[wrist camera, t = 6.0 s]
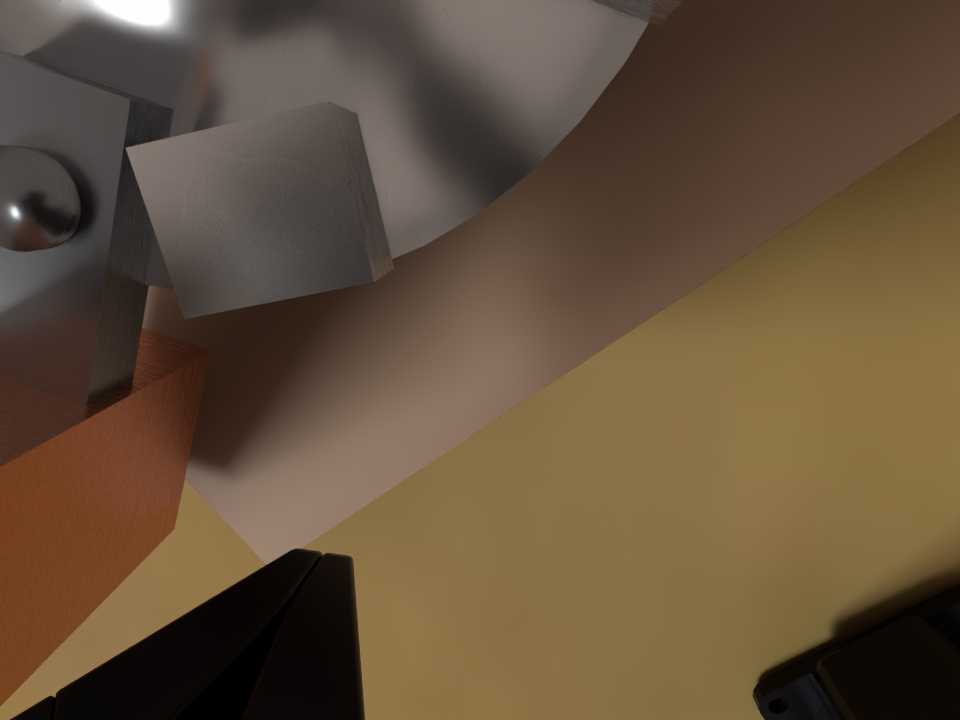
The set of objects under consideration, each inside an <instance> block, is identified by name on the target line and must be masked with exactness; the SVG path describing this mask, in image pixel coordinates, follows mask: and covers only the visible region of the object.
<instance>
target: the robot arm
mask: <svg viewBox="0 0 960 720" xmlns="http://www.w3.org/2000/svg"><path fill="white" fill-rule="evenodd" d="M753 698H754V700H755V703H756V705H757V707H758V709H759V711H760V713H761V715H762V716H763V718H764V719H765V720H960V585H959V586H957V587H954V588H952V589H950V590H948V591H946V592H944V593H942V594H940V595H938V596H936V597H934V598H932V599H930V600H928V601H926V602H924V603H922V604H920V605H917V606H915V607H913V608H911V609H909V610H907V611H905V612H903V613H901V614H899V615H897V616H895V617H893V618H891V619H889V620H887V621H885V622H882V623H880V624H878V625H876V626H874V627H872V628H870V629H868V630H866V631H864V632H862V633H860V634H858V635H856V636H854V637H852V638H850V639H848V640H845V641H843V642H841V643H839V644H837V645H835V646H833V647H831V648H829V649H827V650H825V651H823V652H821V653H819V654H817V655H815V656H813V657H810V658H808V659H806V660H804V661H802V662H800V663H798V664H796V665H794V666H792V667H790V668H788V669H786V670H784V671H782V672H780V673H778V674H776V675H773V676H771V677H769V678H767V679H765V680H763V681H762V682H760V683H759V684H757V685H756V687H755V688H754V690H753ZM777 698H778V699H777ZM773 699H777V700H773ZM772 700H773V701H772ZM10 720H365V713H364V700H363V686H362V673H361V660H360V646H359V633H358V620H357V607H356V593H355V580H354V567H353V559H352V557H350V556H347V555H340V554H333V553H326V554H324V555H322V553H321V552H319V551H313V550H307V549H300V548H295V549H292V550H290V551H289V552H287V553H285V554H284V555H282V556H280V557H279V558H277V559H275V560H274V561H272V562H270V563H269V564H267V565H265V566H264V567H262V568H260V569H259V570H257V571H255V572H254V573H252V574H250V575H249V576H247V577H246V578H244V579H242V580H241V581H239V582H237V583H236V584H234V585H232V586H231V587H229V588H227V589H226V590H224V591H222V592H221V593H219V594H217V595H216V596H214V597H212V598H211V599H209V600H208V601H206V602H204V603H203V604H201V605H199V606H198V607H196V608H194V609H193V610H191V611H189V612H188V613H186V614H184V615H183V616H181V617H179V618H178V619H176V620H174V621H173V622H171V623H169V624H168V625H166V626H165V627H163V628H161V629H160V630H158V631H156V632H155V633H153V634H151V635H150V636H148V637H146V638H145V639H143V640H141V641H140V642H138V643H136V644H135V645H133V646H131V647H130V648H128V649H127V650H125V651H123V652H122V653H120V654H118V655H117V656H115V657H113V658H112V659H110V660H108V661H107V662H105V663H103V664H102V665H100V666H98V667H97V668H95V669H93V670H92V671H90V672H88V673H87V674H85V675H84V676H82V677H80V678H79V679H77V680H75V681H74V682H72V683H70V684H69V685H67V686H65V687H64V688H62V689H60V690H59V691H58V692H57V693H56V697H53V696H48V697H47V698H45V699H43V700H42V701H40V702H38V703H37V704H35V705H33V706H32V707H30V708H29V709H27V710H25V711H24V712H22V713H20V714H19V715H17V716H15V717H14V718H12V719H10Z"/></svg>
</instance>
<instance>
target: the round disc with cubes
mask: <svg viewBox="0 0 960 720" xmlns="http://www.w3.org/2000/svg"><path fill="white" fill-rule="evenodd" d="M681 1H682V0H0V706H1V705H2V704H3V703H4V702H5V701H6V700H7V699H8V698H9V697H10V696H11V695H12V694H13V693H14V692H15V691H16V690H17V689H18V688H19V687H20V686H21V685H22V684H23V683H24V682H25V681H26V680H27V679H28V678H29V677H30V676H31V675H32V674H33V673H34V672H35V670H36V669H37V668H38V667H39V666H40V665H41V664H42V663H43V662H44V661H45V660H46V659H47V658H48V657H49V656H50V655H51V654H52V653H53V652H54V651H55V650H56V649H57V648H58V647H59V646H60V645H61V644H62V643H63V642H64V641H65V640H66V639H67V638H68V637H69V636H70V635H71V634H72V633H73V632H74V631H75V630H76V629H77V628H78V627H79V626H80V625H81V624H82V623H83V622H84V621H85V620H86V618H87V617H88V616H89V615H90V614H91V613H92V612H93V611H94V610H95V609H96V608H97V607H98V606H99V605H100V604H101V603H102V602H103V601H104V600H105V599H106V598H107V597H108V596H109V595H110V594H111V593H112V592H113V591H114V590H115V589H116V588H117V587H118V586H119V585H120V584H121V583H122V582H123V581H124V580H125V579H126V578H127V577H128V576H129V575H130V574H131V573H132V572H133V571H134V570H135V569H136V568H137V566H138V565H139V564H140V563H141V562H142V561H143V560H144V559H145V558H146V557H147V556H148V555H149V554H150V553H151V552H152V551H153V550H154V549H155V548H156V547H157V546H158V545H159V544H160V543H161V542H162V541H163V540H164V539H165V538H166V537H167V536H168V535H169V534H170V533H171V532H172V531H173V530H174V528H175V523H176V519H177V514H178V509H179V504H180V499H181V494H182V489H183V485H184V480H185V475H186V470H187V465H188V460H189V456H190V451H191V446H192V441H193V436H194V431H195V426H196V422H197V417H198V412H199V407H200V402H201V397H202V392H203V388H204V383H205V378H206V373H207V368H208V363H209V359H210V354H211V350H208V349H205V348H202V347H199V346H196V345H193V344H190V343H187V342H184V341H181V340H178V339H175V338H172V337H169V336H166V335H163V334H160V333H157V332H154V331H151V330H148V329H145V328H142V325H143V319H144V313H145V307H146V301H147V295H148V289H149V285H150V286H157V287H165V288H172V289H175V292H176V295H177V298H178V301H179V304H180V306H181V309H182V312H183V315H184V318H185V319H188V318H193V317H198V316H203V315H208V314H213V313H218V312H224V311H229V310H234V309H239V308H244V307H249V306H254V305H260V304H265V303H270V302H275V301H280V300H285V299H290V298H295V297H301V296H306V295H311V294H316V293H321V292H326V291H331V290H337V289H342V288H347V287H352V286H357V285H362V284H367V283H373V282H375V281H377V280H378V279H379V278H381V277H382V276H384V275H385V274H387V273H388V272H389V271H391V270H392V269H394V265H393V261H392V259H394V258H396V257H398V256H401V255H403V254H406V253H408V252H410V251H413V250H415V249H417V248H420V247H422V246H424V245H426V244H428V243H430V242H431V241H433V240H435V239H436V238H438V237H440V236H441V235H443V234H445V233H446V232H448V231H450V230H451V229H453V228H455V227H456V226H458V225H460V224H461V223H463V222H465V221H467V220H468V219H470V218H472V217H473V216H475V215H477V214H478V213H480V212H481V211H482V210H484V209H485V208H486V207H487V206H489V205H490V204H491V203H492V202H494V201H495V200H496V199H497V198H499V197H500V196H501V195H503V194H504V193H505V192H506V191H508V190H509V189H510V188H511V187H513V186H514V185H515V184H516V183H518V182H519V181H520V180H521V179H523V178H524V177H525V176H527V175H528V174H529V173H530V172H531V171H532V170H533V169H534V168H535V167H536V166H537V165H538V164H539V163H540V162H541V161H542V160H543V159H544V158H545V157H546V156H547V155H548V154H549V153H550V152H551V151H552V150H553V149H554V148H555V147H556V146H557V145H558V144H559V143H560V142H561V141H562V140H563V139H564V138H565V137H566V136H567V135H568V134H569V133H570V132H571V131H572V129H573V128H574V127H575V126H576V125H577V124H578V123H579V122H580V121H581V120H582V119H583V117H584V116H585V115H586V113H587V112H588V111H589V109H590V108H591V107H592V105H593V104H594V103H595V102H596V100H597V99H598V98H599V96H600V95H601V94H602V92H603V91H604V90H605V88H606V87H607V86H608V84H609V83H610V82H611V80H612V79H613V78H614V77H615V75H616V74H617V73H618V71H619V70H620V69H621V67H622V66H623V65H624V63H625V62H626V60H627V59H628V57H629V55H630V54H631V52H632V50H633V49H634V47H635V45H636V44H637V42H638V40H639V38H640V37H641V35H642V33H643V32H644V30H645V28H646V27H647V25H648V23H649V22H650V23H653V24H656V25H658V26H659V25H660V24H661V23H662V22H663V21H664V20H665V19H666V18H667V16H668V15H669V14H670V13H671V12H672V11H673V10H674V9H675V8H676V7H677V6H678V5H679V3H680V2H681Z"/></svg>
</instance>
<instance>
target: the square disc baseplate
mask: <svg viewBox="0 0 960 720" xmlns="http://www.w3.org/2000/svg"><path fill="white" fill-rule="evenodd" d="M959 113H960V0H682V1H681V2H680V3H679V5H678V6H677V7H676V8H675V9H674V10H673V11H672V12H671V13H670V14H669V15H668V16H667V18H666V19H665V20H664V21H663V22H662V23H661V24H660V25H659V26H658V25H656V24H653V23H650V22H649V23H648V25H647V27H646V28H645V30H644V32H643V33H642V35H641V37H640V38H639V40H638V42H637V44H636V45H635V47H634V49H633V50H632V52H631V54H630V55H629V57H628V59H627V60H626V62H625V63H624V65H623V66H622V67H621V69H620V70H619V71H618V73H617V74H616V75H615V77H614V78H613V79H612V80H611V82H610V83H609V84H608V86H607V87H606V88H605V90H604V91H603V92H602V94H601V95H600V96H599V98H598V99H597V100H596V102H595V103H594V104H593V105H592V107H591V108H590V109H589V111H588V112H587V113H586V115H585V116H584V117H583V119H582V120H581V121H580V122H579V123H578V124H577V125H576V126H575V127H574V128H573V129H572V131H571V132H570V133H569V134H568V135H567V136H566V137H565V138H564V139H563V140H562V141H561V142H560V143H559V144H558V145H557V146H556V147H555V148H554V149H553V150H552V151H551V152H550V153H549V154H548V155H547V156H546V157H545V158H544V159H543V160H542V161H541V162H540V163H539V164H538V165H537V166H536V167H535V168H534V169H533V170H532V171H531V172H530V173H529V174H528V175H527V176H525V177H524V178H523V179H521V180H520V181H519V182H518V183H516V184H515V185H514V186H513V187H511V188H510V189H509V190H508V191H506V192H505V193H504V194H503V195H501V196H500V197H499V198H497V199H496V200H495V201H494V202H492V203H491V204H490V205H489V206H487V207H486V208H485V209H484V210H482V211H481V212H480V213H478V214H477V215H475V216H473V217H472V218H470V219H468V220H467V221H465V222H463V223H461V224H460V225H458V226H456V227H455V228H453V229H451V230H450V231H448V232H446V233H445V234H443V235H441V236H440V237H438V238H436V239H435V240H433V241H431V242H430V243H428V244H426V245H424V246H422V247H420V248H417V249H415V250H413V251H410V252H408V253H406V254H403V255H401V256H398V257H396V258H394V259H392V261H393V265H394V269H392V270H391V271H389V272H388V273H387V274H385V275H384V276H382V277H381V278H379V279H378V280H377V281H375V282H373V283H367V284H362V285H357V286H352V287H347V288H342V289H337V290H331V291H326V292H321V293H316V294H311V295H306V296H301V297H295V298H290V299H285V300H280V301H275V302H270V303H265V304H260V305H254V306H249V307H244V308H239V309H234V310H229V311H224V312H218V313H213V314H208V315H203V316H198V317H193V318H188V319H185V318H184V315H183V312H182V309H181V306H180V304H179V301H178V298H177V295H176V292H175V289H172V288H165V287H157V286H150V285H149V289H148V295H147V301H146V307H145V313H144V319H143V325H142V328H145V329H148V330H151V331H154V332H157V333H160V334H163V335H166V336H169V337H172V338H175V339H178V340H181V341H184V342H187V343H190V344H193V345H196V346H199V347H202V348H205V349H208V350H211V354H210V359H209V363H208V368H207V373H206V378H205V383H204V388H203V392H202V397H201V402H200V407H199V412H198V417H197V422H196V426H195V431H194V436H193V441H192V446H191V451H190V456H189V460H188V465H187V470H186V475H185V479H186V480H187V481H188V482H189V483H190V484H191V485H192V487H193V488H194V489H195V490H196V491H197V492H198V493H199V494H200V495H201V496H202V497H203V498H204V499H205V500H206V501H207V502H208V504H209V505H210V506H211V507H212V508H213V509H214V510H215V511H216V512H217V513H218V514H219V515H220V516H221V517H222V518H223V519H224V521H225V522H226V523H227V524H228V525H229V526H230V527H231V528H232V529H233V530H234V531H235V532H236V533H237V534H238V535H239V536H240V538H241V539H242V540H243V541H244V542H245V543H246V544H247V545H248V546H249V547H250V548H251V549H252V550H253V551H254V552H255V553H256V555H257V556H258V557H259V558H260V559H261V560H262V561H263V562H264V563H265V564H266V565H267V564H269V563H270V562H272V561H274V560H275V559H277V558H279V557H280V556H282V555H284V554H285V553H287V552H289V551H290V550H292V549H295V548H300V549H301V548H303V547H304V546H306V545H307V544H309V543H310V542H312V541H314V540H315V539H317V538H318V537H320V536H321V535H323V534H324V533H326V532H327V531H329V530H330V529H332V528H333V527H335V526H336V525H338V524H339V523H341V522H342V521H344V520H345V519H347V518H348V517H350V516H351V515H353V514H354V513H356V512H357V511H359V510H360V509H362V508H363V507H365V506H366V505H368V504H369V503H371V502H372V501H374V500H376V499H377V498H379V497H380V496H382V495H383V494H385V493H386V492H388V491H389V490H391V489H392V488H394V487H395V486H397V485H398V484H400V483H401V482H403V481H404V480H406V479H407V478H409V477H410V476H412V475H413V474H415V473H416V472H418V471H419V470H421V469H422V468H424V467H425V466H427V465H428V464H430V463H431V462H433V461H434V460H436V459H438V458H439V457H441V456H442V455H444V454H445V453H447V452H448V451H450V450H451V449H453V448H454V447H456V446H457V445H459V444H460V443H462V442H463V441H465V440H466V439H468V438H469V437H471V436H472V435H474V434H475V433H477V432H478V431H480V430H481V429H483V428H484V427H486V426H487V425H489V424H490V423H492V422H493V421H495V420H496V419H498V418H500V417H501V416H503V415H504V414H506V413H507V412H509V411H510V410H512V409H513V408H515V407H516V406H518V405H519V404H521V403H522V402H524V401H525V400H527V399H528V398H530V397H531V396H533V395H534V394H536V393H537V392H539V391H540V390H542V389H543V388H545V387H546V386H548V385H549V384H551V383H552V382H554V381H555V380H557V379H558V378H560V377H562V376H563V375H565V374H566V373H568V372H569V371H571V370H572V369H574V368H575V367H577V366H578V365H580V364H581V363H583V362H584V361H586V360H587V359H589V358H590V357H592V356H593V355H595V354H596V353H598V352H599V351H601V350H602V349H604V348H605V347H607V346H608V345H610V344H611V343H613V342H614V341H616V340H617V339H619V338H621V337H622V336H624V335H625V334H627V333H628V332H630V331H631V330H633V329H634V328H636V327H637V326H639V325H640V324H642V323H643V322H645V321H646V320H648V319H649V318H651V317H652V316H654V315H655V314H657V313H658V312H660V311H661V310H663V309H664V308H666V307H667V306H669V305H670V304H672V303H673V302H675V301H676V300H678V299H679V298H681V297H683V296H684V295H686V294H687V293H689V292H690V291H692V290H693V289H695V288H696V287H698V286H699V285H701V284H702V283H704V282H705V281H707V280H708V279H710V278H711V277H713V276H714V275H716V274H717V273H719V272H720V271H722V270H723V269H725V268H726V267H728V266H729V265H731V264H732V263H734V262H735V261H737V260H738V259H740V258H741V257H743V256H745V255H746V254H748V253H749V252H751V251H752V250H754V249H755V248H757V247H758V246H760V245H761V244H763V243H764V242H766V241H767V240H769V239H770V238H772V237H773V236H775V235H776V234H778V233H779V232H781V231H782V230H784V229H785V228H787V227H788V226H790V225H791V224H793V223H794V222H796V221H797V220H799V219H800V218H802V217H803V216H805V215H807V214H808V213H810V212H811V211H813V210H814V209H816V208H817V207H819V206H820V205H822V204H823V203H825V202H826V201H828V200H829V199H831V198H832V197H834V196H835V195H837V194H838V193H840V192H841V191H843V190H844V189H846V188H847V187H849V186H850V185H852V184H853V183H855V182H856V181H858V180H859V179H861V178H862V177H864V176H865V175H867V174H869V173H870V172H872V171H873V170H875V169H876V168H878V167H879V166H881V165H882V164H884V163H885V162H887V161H888V160H890V159H891V158H893V157H894V156H896V155H897V154H899V153H900V152H902V151H903V150H905V149H906V148H908V147H909V146H911V145H912V144H914V143H915V142H917V141H918V140H920V139H921V138H923V137H924V136H926V135H927V134H929V133H931V132H932V131H934V130H935V129H937V128H938V127H940V126H941V125H943V124H944V123H946V122H947V121H949V120H950V119H952V118H953V117H955V116H956V115H958V114H959Z"/></svg>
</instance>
